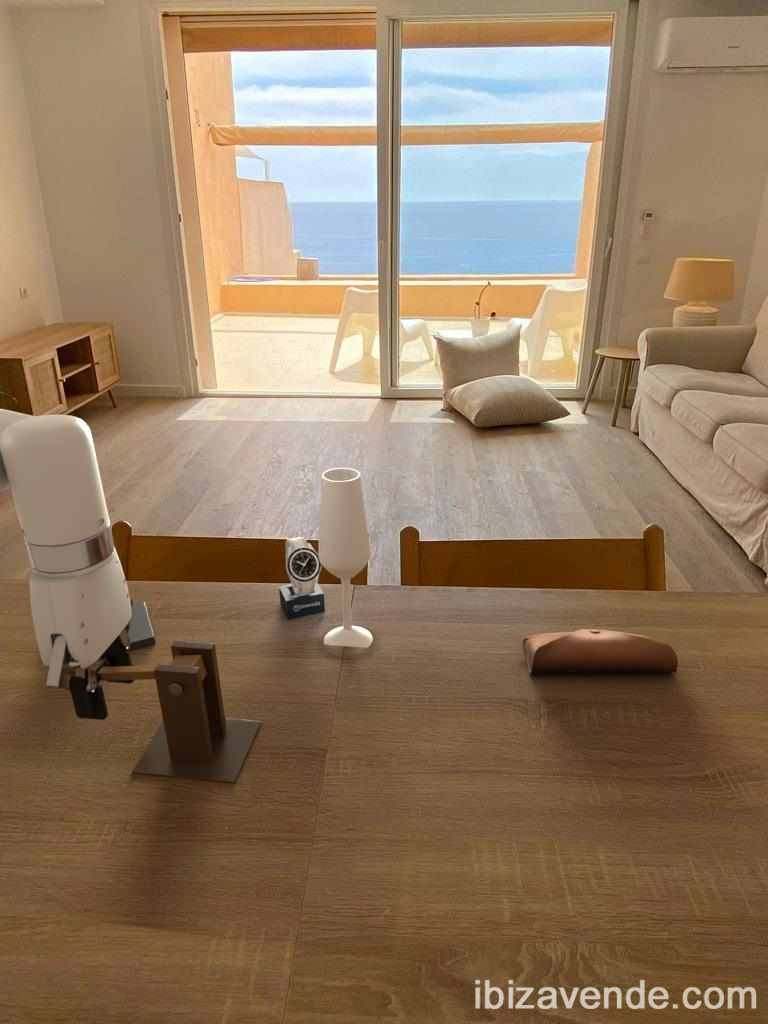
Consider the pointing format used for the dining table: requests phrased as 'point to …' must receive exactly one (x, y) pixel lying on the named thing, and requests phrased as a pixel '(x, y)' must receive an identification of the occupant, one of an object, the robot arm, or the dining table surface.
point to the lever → (142, 668)
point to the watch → (301, 580)
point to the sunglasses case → (596, 652)
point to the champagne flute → (344, 545)
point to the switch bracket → (195, 724)
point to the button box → (140, 628)
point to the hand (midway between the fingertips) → (107, 696)
